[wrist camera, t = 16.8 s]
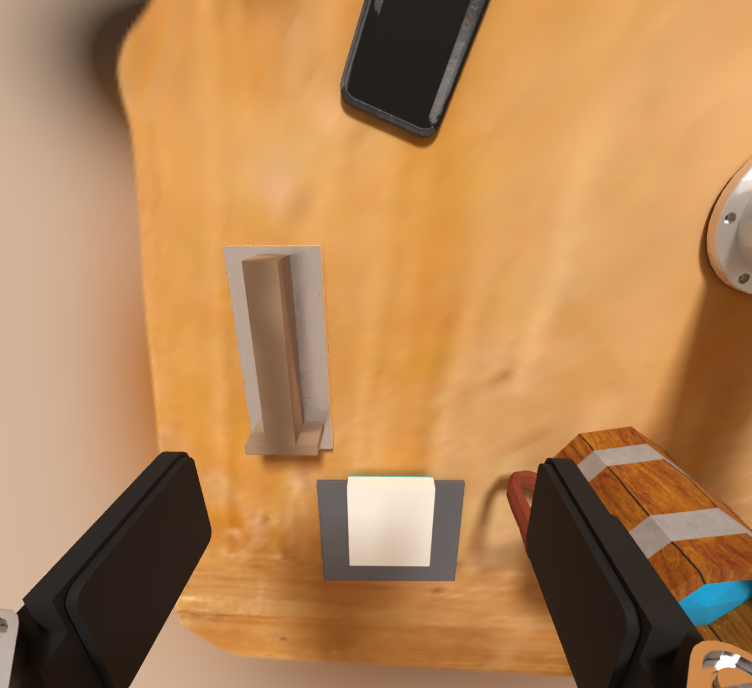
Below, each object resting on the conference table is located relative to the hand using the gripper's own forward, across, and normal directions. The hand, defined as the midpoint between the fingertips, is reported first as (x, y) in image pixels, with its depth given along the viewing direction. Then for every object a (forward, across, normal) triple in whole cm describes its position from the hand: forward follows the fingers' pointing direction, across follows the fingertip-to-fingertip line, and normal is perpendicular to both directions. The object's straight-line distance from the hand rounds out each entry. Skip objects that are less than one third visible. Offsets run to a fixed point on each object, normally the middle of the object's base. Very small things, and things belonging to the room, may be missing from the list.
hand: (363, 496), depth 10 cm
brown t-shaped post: (+22, +9, +5) cm, 25 cm away
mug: (+25, -20, +20) cm, 38 cm away
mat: (+24, 0, +28) cm, 37 cm away
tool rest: (+23, +10, +6) cm, 26 cm away
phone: (+25, -3, -20) cm, 32 cm away
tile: (+22, 0, +20) cm, 30 cm away
